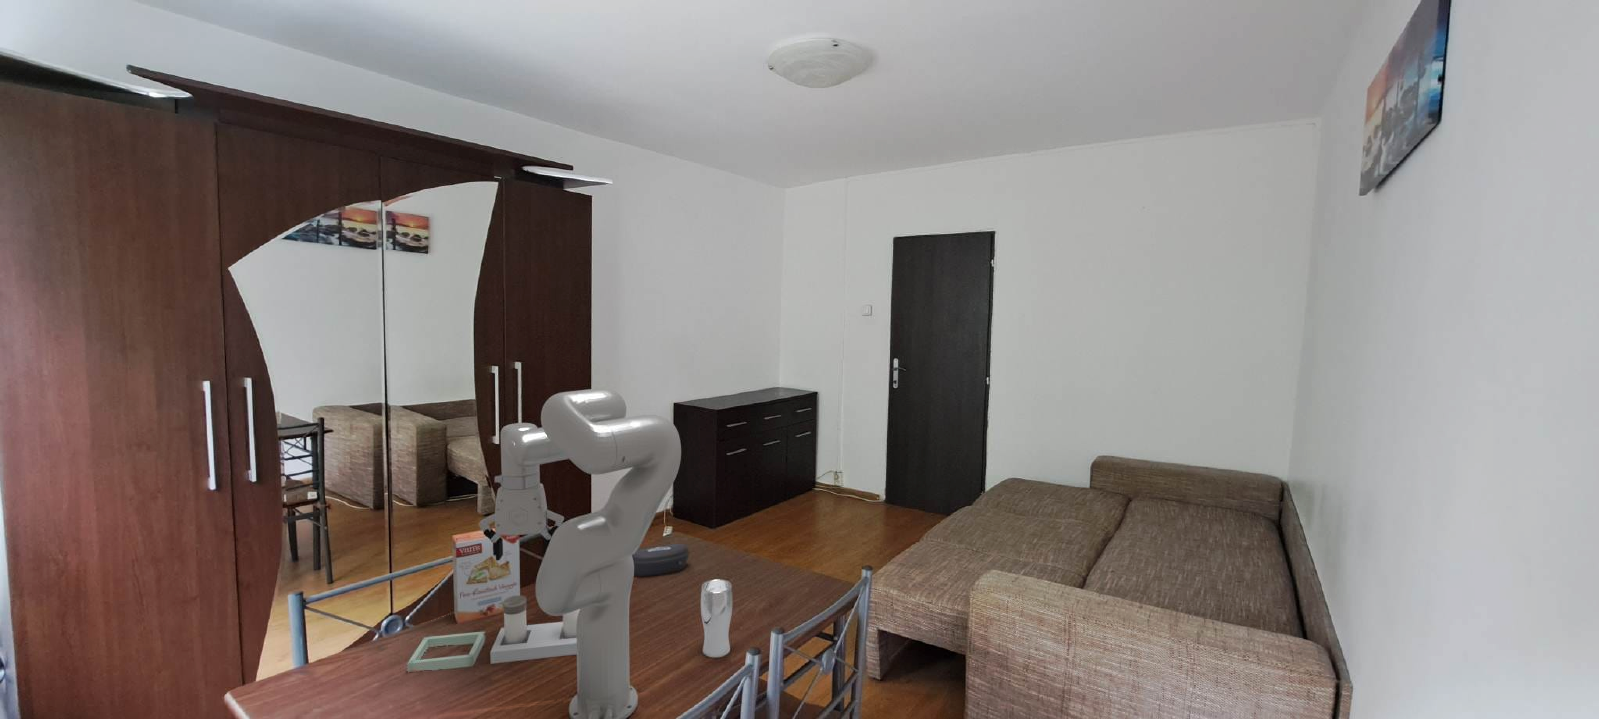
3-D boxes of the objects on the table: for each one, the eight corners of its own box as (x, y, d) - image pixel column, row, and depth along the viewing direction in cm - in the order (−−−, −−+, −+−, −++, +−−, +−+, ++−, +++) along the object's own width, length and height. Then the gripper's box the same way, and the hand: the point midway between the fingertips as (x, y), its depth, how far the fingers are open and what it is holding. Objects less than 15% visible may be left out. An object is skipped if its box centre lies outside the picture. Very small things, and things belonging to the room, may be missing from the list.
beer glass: (702, 661, 135) (702, 594, 134) (699, 643, 142) (699, 580, 140) (734, 656, 137) (734, 591, 135) (729, 639, 144) (729, 577, 142)
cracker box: (457, 628, 146) (454, 542, 144) (454, 617, 151) (451, 534, 149) (521, 611, 155) (519, 530, 153) (516, 602, 160) (514, 522, 158)
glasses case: (630, 581, 171) (627, 551, 172) (625, 579, 180) (623, 551, 182) (694, 569, 178) (692, 541, 180) (686, 568, 187) (684, 542, 189)
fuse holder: (590, 656, 136) (590, 641, 136) (490, 668, 131) (490, 652, 131) (594, 632, 146) (594, 618, 145) (501, 642, 141) (501, 627, 141)
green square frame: (473, 670, 130) (472, 656, 130) (407, 677, 127) (407, 663, 127) (485, 643, 140) (485, 631, 140) (425, 650, 137) (424, 637, 137)
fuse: (583, 646, 138) (582, 598, 137) (561, 648, 137) (560, 601, 136) (585, 635, 142) (584, 589, 141) (564, 637, 141) (563, 591, 140)
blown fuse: (525, 652, 135) (523, 604, 134) (502, 655, 134) (501, 606, 133) (529, 641, 140) (527, 594, 139) (507, 643, 139) (505, 596, 137)
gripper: (472, 487, 130) (475, 566, 132) (560, 483, 134) (561, 560, 135) (483, 477, 137) (485, 552, 139) (565, 474, 141) (567, 547, 143)
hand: (523, 556), depth 137 cm, fingers open, 9 cm apart
